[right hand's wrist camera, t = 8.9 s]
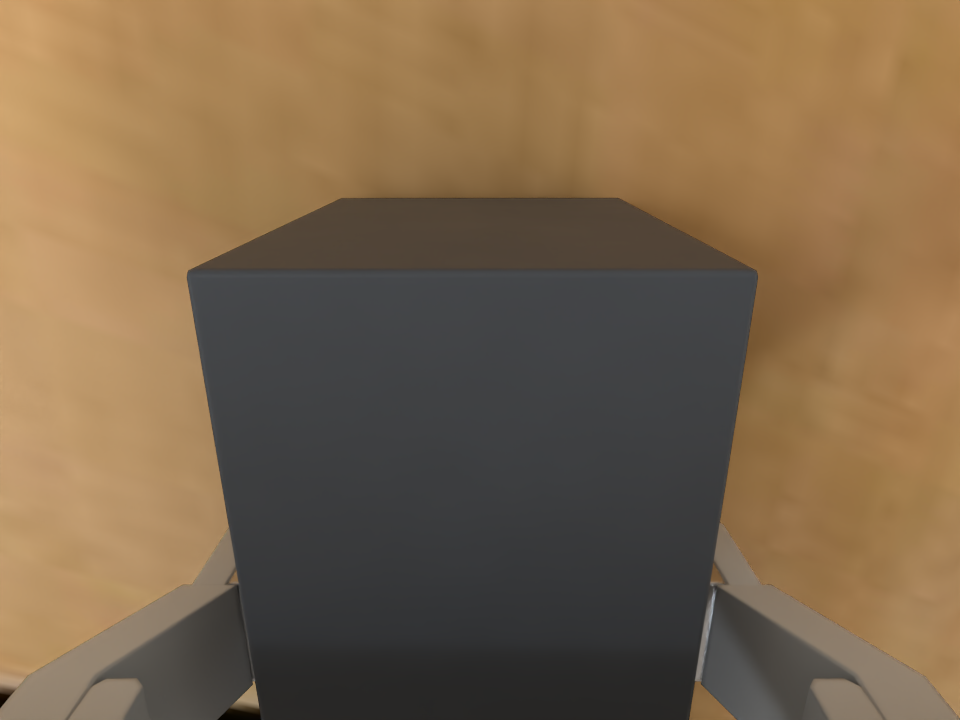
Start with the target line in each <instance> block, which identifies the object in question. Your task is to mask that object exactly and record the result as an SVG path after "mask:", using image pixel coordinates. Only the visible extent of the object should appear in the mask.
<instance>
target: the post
mask: <svg viewBox="0 0 960 720" xmlns="http://www.w3.org/2000/svg"><path fill="white" fill-rule="evenodd" d="M757 280H758V275H757V271H756V270H754V269H752V268H750V267H748V266H747V265H745V264H743V263H741V262H739V261H737V260H735V259H733V258H731V257H729V256H728V255H726V254H724V253H722V252H720V251H718V250H716V249H714V248H712V247H710V246H708V245H707V244H705V243H703V242H701V241H699V240H697V239H695V238H693V237H691V236H689V235H688V234H686V233H684V232H682V231H680V230H678V229H676V228H674V227H672V226H670V225H669V224H667V223H665V222H663V221H661V220H659V219H657V218H655V217H653V216H651V215H650V214H648V213H646V212H644V211H642V210H640V209H638V208H636V207H634V206H632V205H631V204H629V203H627V202H625V201H623V200H621V199H619V198H341V199H339V200H337V201H335V202H333V203H330V204H328V205H326V206H324V207H322V208H320V209H318V210H316V211H313V212H311V213H309V214H307V215H305V216H303V217H301V218H299V219H297V220H294V221H292V222H290V223H288V224H286V225H284V226H282V227H280V228H277V229H275V230H273V231H271V232H269V233H267V234H265V235H263V236H261V237H258V238H256V239H254V240H252V241H250V242H248V243H246V244H244V245H241V246H239V247H237V248H235V249H233V250H231V251H229V252H227V253H224V254H222V255H220V256H218V257H216V258H214V259H212V260H210V261H208V262H205V263H203V264H201V265H199V266H197V267H195V268H193V269H191V270H189V271H188V274H187V281H188V287H189V293H190V299H191V305H192V311H193V317H194V323H195V328H196V334H197V340H198V346H199V352H200V358H201V364H202V370H203V376H204V382H205V388H206V394H207V399H208V405H209V411H210V417H211V423H212V429H213V435H214V441H215V447H216V453H217V459H218V465H219V471H220V476H221V482H222V488H223V494H224V500H225V506H226V512H227V518H228V524H229V530H230V536H231V542H232V547H233V553H234V559H235V565H236V571H237V577H238V583H239V589H240V595H241V601H242V607H243V613H244V618H245V624H246V630H247V636H248V642H249V648H250V654H251V660H252V666H253V672H254V678H255V684H256V690H257V695H258V701H259V707H260V713H261V719H262V720H689V716H690V709H691V703H692V697H693V690H694V684H695V677H696V671H697V665H698V658H699V652H700V645H701V639H702V633H703V626H704V620H705V613H706V607H707V601H708V594H709V588H710V581H711V575H712V568H713V562H714V556H715V549H716V543H717V536H718V530H719V524H720V517H721V511H722V504H723V498H724V492H725V485H726V479H727V472H728V466H729V460H730V453H731V447H732V440H733V434H734V428H735V421H736V415H737V408H738V402H739V396H740V389H741V383H742V376H743V370H744V364H745V357H746V351H747V344H748V338H749V332H750V325H751V319H752V312H753V306H754V299H755V293H756V287H757Z"/></svg>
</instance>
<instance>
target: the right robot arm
mask: <svg viewBox="0 0 960 720" xmlns="http://www.w3.org/2000/svg"><path fill="white" fill-rule="evenodd" d="M252 681H255V678H254V672H253V666H252V660H251V654H250V648H249V642H248V636H247V630H246V624H245V618H244V613H243V607H242V601H241V595H240V589H239V583H238V577H237V571H236V565H235V559H234V553H233V547H232V542H231V536H230V530H229V528H228V529H227V531H226V532H225V534H224V535H223V537H222V539H221V540H220V542H219V543H218V545H217V546H216V548H215V549H214V551H213V553H212V554H211V556H210V557H209V559H208V560H207V562H206V563H205V565H204V567H203V568H202V570H201V571H200V573H199V574H198V576H197V577H196V579H195V581H194V582H193V584H192V585H181V586H180V587H178V588H176V589H175V590H173V591H171V592H169V593H168V594H166V595H164V596H163V597H161V598H159V599H157V600H156V601H154V602H152V603H151V604H149V605H147V606H146V607H144V608H142V609H140V610H139V611H137V612H135V613H134V614H132V615H130V616H129V617H127V618H125V619H123V620H122V621H120V622H118V623H117V624H115V625H113V626H112V627H110V628H108V629H106V630H105V631H103V632H101V633H100V634H98V635H96V636H94V637H93V638H91V639H89V640H88V641H86V642H84V643H83V644H81V645H79V646H77V647H76V648H74V649H72V650H71V651H69V652H67V653H66V654H64V655H62V656H60V657H59V658H57V659H55V660H54V661H52V662H50V663H48V664H47V665H45V666H43V667H42V668H40V669H38V670H37V671H35V672H33V673H31V674H30V675H28V676H27V677H26V678H25V680H24V681H23V682H22V683H21V684H20V686H19V687H18V688H17V689H16V690H15V691H14V693H13V694H12V695H11V696H10V697H9V699H8V700H7V701H6V702H5V703H4V705H3V706H2V707H1V708H0V720H217V719H218V718H219V717H220V716H221V715H222V714H223V713H224V712H225V711H226V710H227V709H228V708H229V707H230V706H231V705H232V704H234V703H235V702H236V701H237V700H238V699H239V698H240V697H241V696H242V695H243V694H244V693H245V692H246V691H247V690H248V689H249V688H250V687H251V686H252V685H253V682H252ZM695 681H701V684H702V685H703V686H704V687H705V688H706V689H707V690H708V691H709V692H710V693H711V694H712V695H713V696H714V697H715V698H716V699H717V700H718V701H719V702H720V703H721V704H722V705H723V706H724V707H725V708H726V709H727V710H728V711H729V712H730V713H731V714H732V715H733V716H734V717H735V718H736V719H737V720H960V718H959V717H958V716H957V714H956V713H955V712H954V711H953V710H952V708H951V707H950V706H949V705H948V703H947V702H946V701H945V700H944V699H943V697H942V696H941V695H940V694H939V692H938V691H937V690H936V689H935V688H934V686H933V685H932V684H931V683H930V681H929V680H928V679H927V678H926V677H925V676H924V675H922V674H920V673H919V672H917V671H915V670H914V669H912V668H910V667H908V666H907V665H905V664H903V663H902V662H900V661H898V660H897V659H895V658H893V657H892V656H890V655H888V654H887V653H885V652H883V651H882V650H880V649H878V648H877V647H875V646H873V645H871V644H870V643H868V642H866V641H865V640H863V639H861V638H860V637H858V636H856V635H855V634H853V633H851V632H850V631H848V630H846V629H845V628H843V627H841V626H840V625H838V624H836V623H834V622H833V621H831V620H829V619H828V618H826V617H824V616H823V615H821V614H819V613H818V612H816V611H814V610H813V609H811V608H809V607H808V606H806V605H804V604H803V603H801V602H799V601H798V600H796V599H794V598H792V597H791V596H789V595H787V594H786V593H784V592H782V591H781V590H779V589H777V588H776V587H774V586H772V585H762V584H761V583H760V581H759V579H758V578H757V576H756V575H755V573H754V572H753V570H752V568H751V567H750V565H749V564H748V562H747V561H746V559H745V557H744V556H743V554H742V553H741V551H740V550H739V548H738V546H737V545H736V543H735V542H734V540H733V539H732V537H731V535H730V534H729V532H728V531H727V529H726V528H725V526H724V524H722V523H720V524H719V530H718V536H717V543H716V549H715V556H714V562H713V568H712V575H711V581H710V588H709V594H708V601H707V607H706V613H705V620H704V626H703V633H702V639H701V645H700V652H699V658H698V665H697V671H696V677H695Z"/></svg>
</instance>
